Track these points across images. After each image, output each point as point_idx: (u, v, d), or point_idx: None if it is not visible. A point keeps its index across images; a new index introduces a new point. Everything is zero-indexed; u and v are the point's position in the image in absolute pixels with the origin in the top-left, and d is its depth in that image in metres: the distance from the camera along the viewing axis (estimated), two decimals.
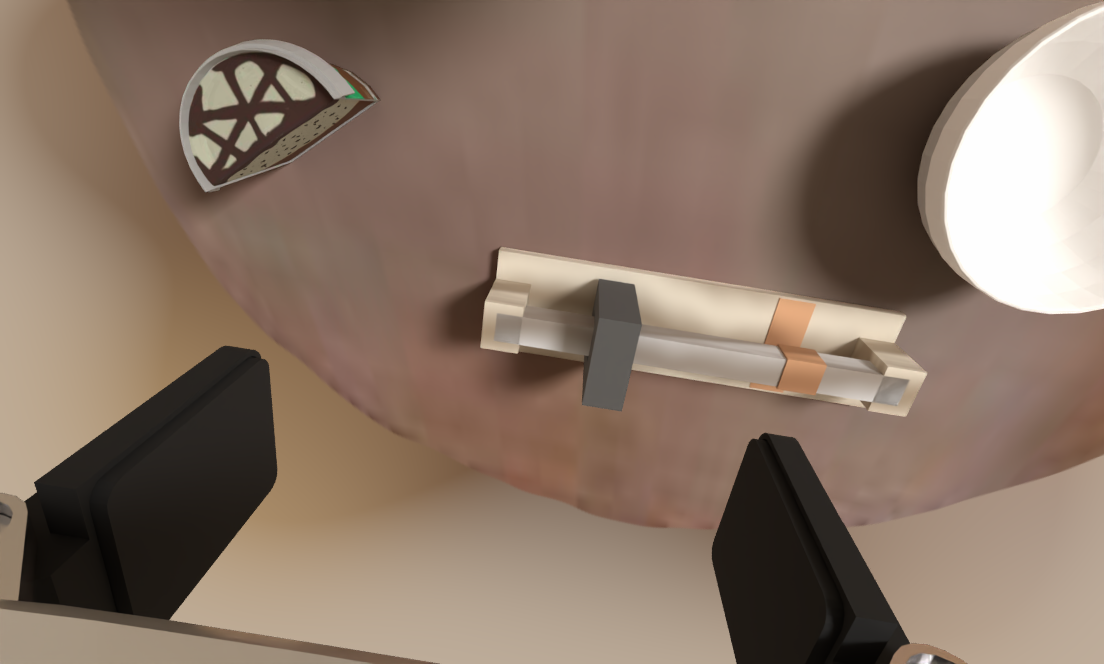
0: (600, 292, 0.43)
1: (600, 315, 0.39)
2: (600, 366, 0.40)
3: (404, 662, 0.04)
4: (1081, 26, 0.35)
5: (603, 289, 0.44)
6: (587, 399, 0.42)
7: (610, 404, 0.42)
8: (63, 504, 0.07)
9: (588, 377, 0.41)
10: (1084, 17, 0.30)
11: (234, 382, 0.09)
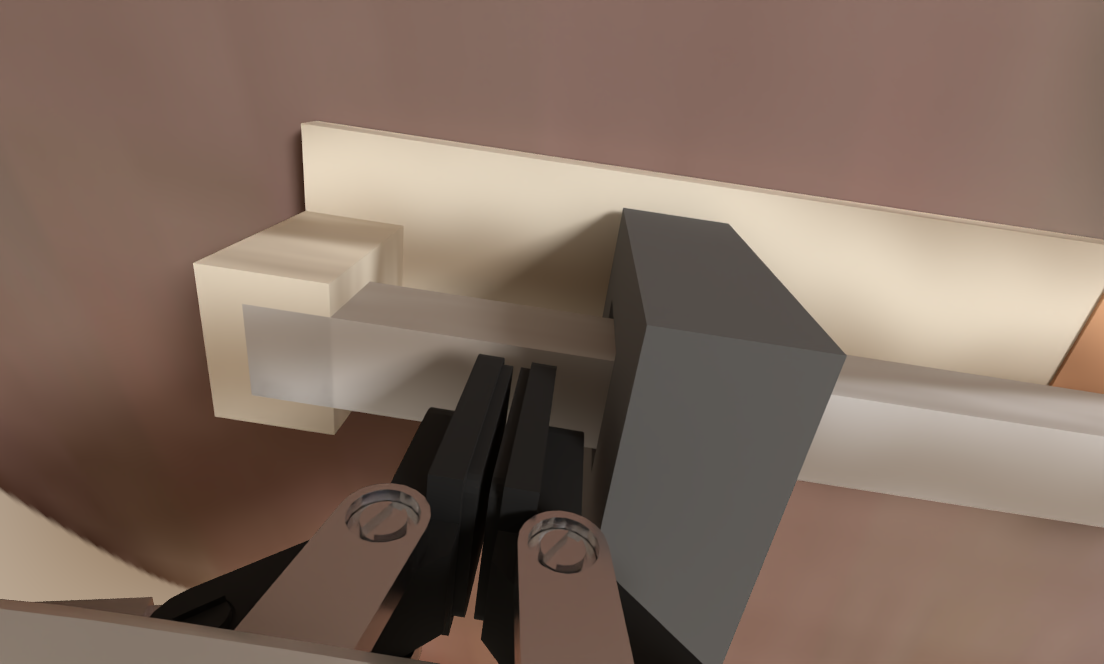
0: (634, 238, 0.13)
1: (650, 314, 0.09)
2: (646, 522, 0.10)
3: (403, 662, 0.04)
4: None
5: (642, 231, 0.14)
6: None
7: None
8: (447, 493, 0.08)
9: None
10: None
11: (506, 387, 0.10)
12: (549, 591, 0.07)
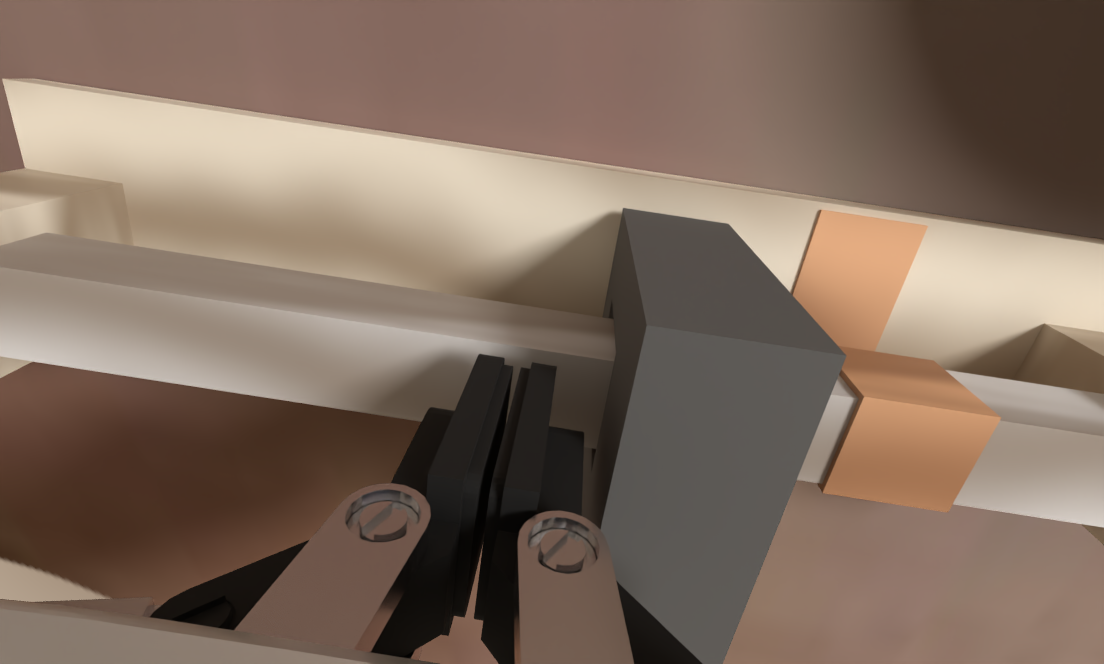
0: (634, 238, 0.13)
1: (650, 314, 0.09)
2: (646, 522, 0.10)
3: (403, 662, 0.04)
4: None
5: (642, 231, 0.14)
6: None
7: None
8: (447, 493, 0.08)
9: None
10: None
11: (506, 387, 0.10)
12: (549, 591, 0.07)
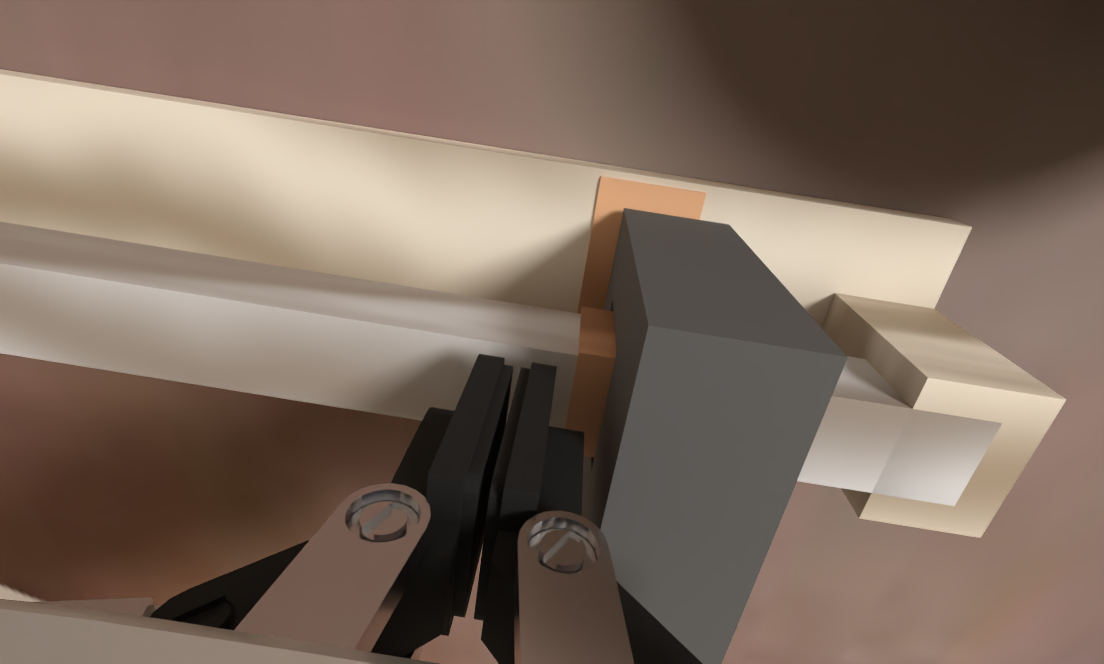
0: (635, 238, 0.13)
1: (651, 314, 0.09)
2: (646, 522, 0.10)
3: (404, 662, 0.04)
4: None
5: (643, 231, 0.14)
6: None
7: None
8: (447, 493, 0.08)
9: None
10: None
11: (506, 387, 0.10)
12: (549, 591, 0.07)
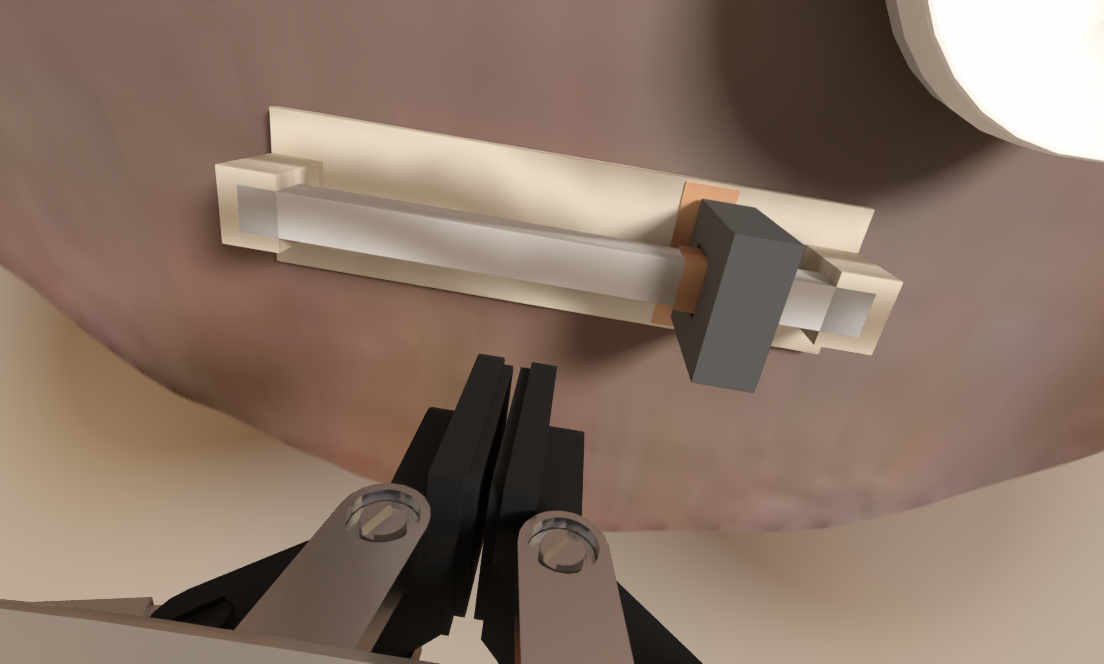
0: (715, 210, 0.28)
1: (734, 231, 0.24)
2: (728, 318, 0.25)
3: (404, 662, 0.04)
4: None
5: (716, 208, 0.29)
6: (701, 373, 0.26)
7: (737, 381, 0.26)
8: (447, 493, 0.08)
9: (706, 337, 0.25)
10: None
11: (506, 387, 0.10)
12: (549, 591, 0.07)
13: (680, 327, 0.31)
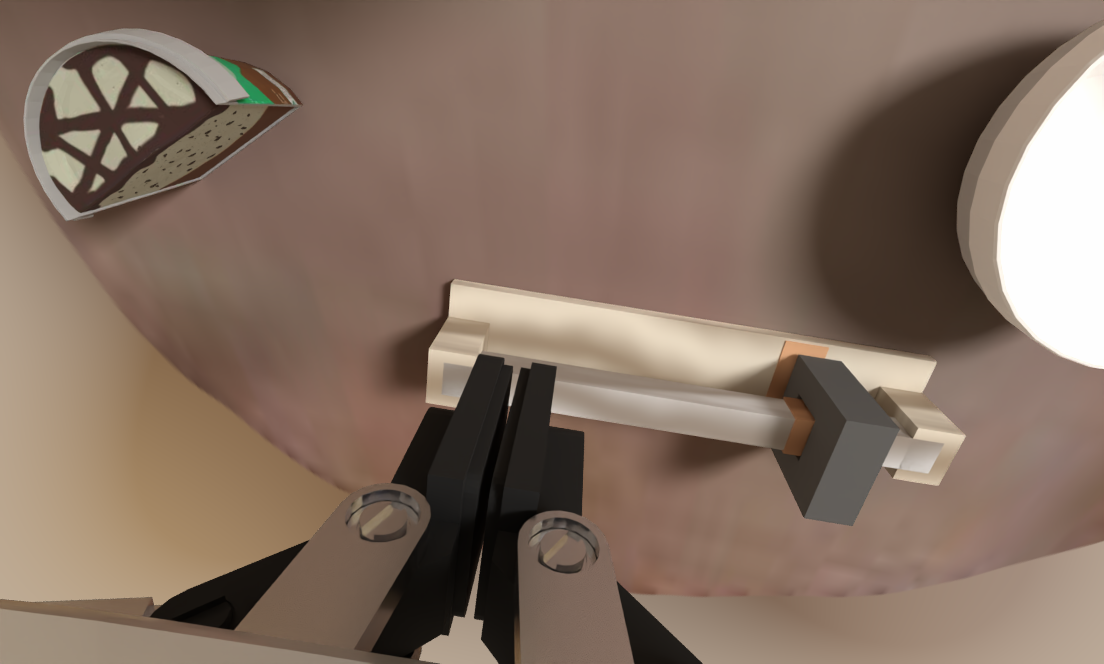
0: (816, 377, 0.36)
1: (845, 416, 0.32)
2: (836, 475, 0.33)
3: (404, 662, 0.04)
4: None
5: (816, 371, 0.37)
6: (812, 512, 0.34)
7: (840, 518, 0.34)
8: (447, 493, 0.08)
9: (818, 487, 0.33)
10: None
11: (506, 387, 0.10)
12: (549, 591, 0.07)
13: (782, 458, 0.39)
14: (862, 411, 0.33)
